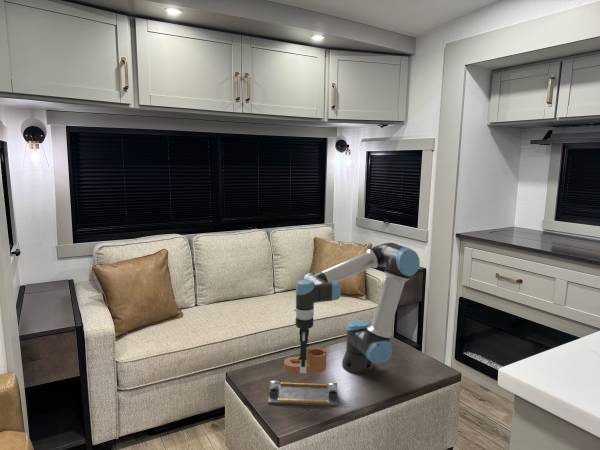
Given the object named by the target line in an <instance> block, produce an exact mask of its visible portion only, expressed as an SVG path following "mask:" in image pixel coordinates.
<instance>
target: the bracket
mask: <svg viewBox="0 0 600 450" xmlns="http://www.w3.org/2000/svg"><path fill="white" fill-rule="evenodd" d="M326 350H327V349H324V348H322V347H311V348H307V364H306V373H322V372H324V371H326V368H327V351H326ZM299 358H300V356H289V357H286V358H285V359H284V360H283V369H284V370H285V371H286V372H288V373H292V374H293V373H294V374H297V373H299V374H301V373H300V359H299Z"/></svg>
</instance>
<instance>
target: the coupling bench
mask: <svg viewBox="0 0 600 450" xmlns="http://www.w3.org/2000/svg"><path fill="white" fill-rule="evenodd" d="M268 392H269V396H268V400H267V402H268V404H271V405H272V404H274V405H275V404H276V405H298V406H299V405H301V406H324V407H338V383H337V382H328V384H327V383H311V382H310V383H309V382H308V383H307V382H306V383H305V382H304V383H303V382H282V381H281V382H280V384H279V380H269V391H268Z"/></svg>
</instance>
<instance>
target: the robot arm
mask: <svg viewBox="0 0 600 450" xmlns="http://www.w3.org/2000/svg"><path fill="white" fill-rule="evenodd" d="M420 262H421V260H420V257H419V254H418V253H417V252H416V251H415V250H414V249H412V248H409V247H407V246H403V245H400V244H398V243H394V242H386V243H385V242H384V243H381V244H378V245H375V246H373V247H370V248H367V249H366V251H365V252H363V253H361V254H358V255H357V256H355V257H352V258H349V259H347V260H345V261H343V262H341V263H338V264H336V265H333V266H331V267H329V268H327V269H324V270H322V271H320V272H317V273H314V272H308V273H307V274H305V275H304V276H303V279H300V280H299V281H297V282H296V285H295V308H294V312H295V322H294V323H295V326H296V328H298V329H299V342H300V351H299V353H300V354H299V357H300V358H299V359H300V373H299V374H307V372H306V364H307V350H308V348H309V347H310V344H309V343H308V342H309V334H310V329H311V328H313V327H314V316H315V313H314V312H315V308H314V307H315V304H317V303H324V302H333V301H336V300H339V299H340V298H341V296H342V288H341V286H340V284H339V282H341V281H343V280H346V279H348V278H350V277H353V276H355V275H357V274H360V273H362V272H364V271H367V270H369V269H372V268H373V269H377V268H379V267H385V268H384V273H385V276H386V277H385V280H384V283H383V287H382V290H381V292H380V296H379V299H378V302H377V306H376V309H375V311H374V315H373V317H372V321H371V322H370V321H367V320H363V319H355V320H351V321H349V322H348V323H347V326H346V347H345V348H346V350H345V353H344V355H343V358H342V362H341V363H342V365H341V366H342V368H343V369H344V370H345V371H347V372H349V373H352V374H354V375H355V374H356V375H361V374H362V375H363V374H368V373H370V372H372V371H373V370H374V369H373V368H374V364H377V365H378V364H383V363H384V362H386V361H388V360H389V359H390V358H391V356H392V353H393V350H394V349H393V346H392V343H391V339H392V334H391V327H392V324H393V322H394V318H395V315H396V311H397V309H398V306H399V305H398V304H399V302H400V299H401V296H402V293H403V290H404V286H405V284H406V282H407V281H409V280H411V276H414V275H415V274H416V273H417V272H418V270H419V269H420V264H421V263H420Z"/></svg>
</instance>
